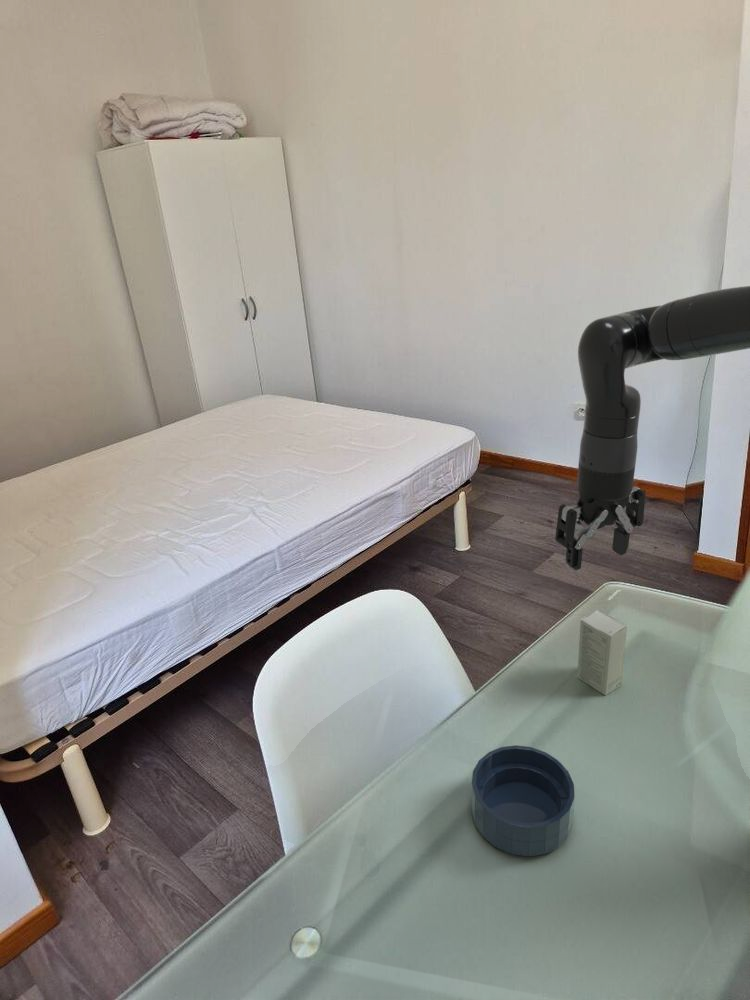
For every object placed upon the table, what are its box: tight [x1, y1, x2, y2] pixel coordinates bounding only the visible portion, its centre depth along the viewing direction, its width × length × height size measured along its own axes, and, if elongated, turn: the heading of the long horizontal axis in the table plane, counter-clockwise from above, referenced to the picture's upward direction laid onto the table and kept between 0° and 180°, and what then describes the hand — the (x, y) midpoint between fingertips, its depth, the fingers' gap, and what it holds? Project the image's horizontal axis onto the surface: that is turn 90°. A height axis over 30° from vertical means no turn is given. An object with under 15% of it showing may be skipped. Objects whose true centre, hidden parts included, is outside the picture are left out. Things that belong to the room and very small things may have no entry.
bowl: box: [470, 745, 575, 857], centre depth 92 cm, size 13×13×6 cm
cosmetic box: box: [576, 609, 628, 696], centre depth 113 cm, size 6×4×12 cm
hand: (596, 559), depth 103 cm, fingers open, 8 cm apart
